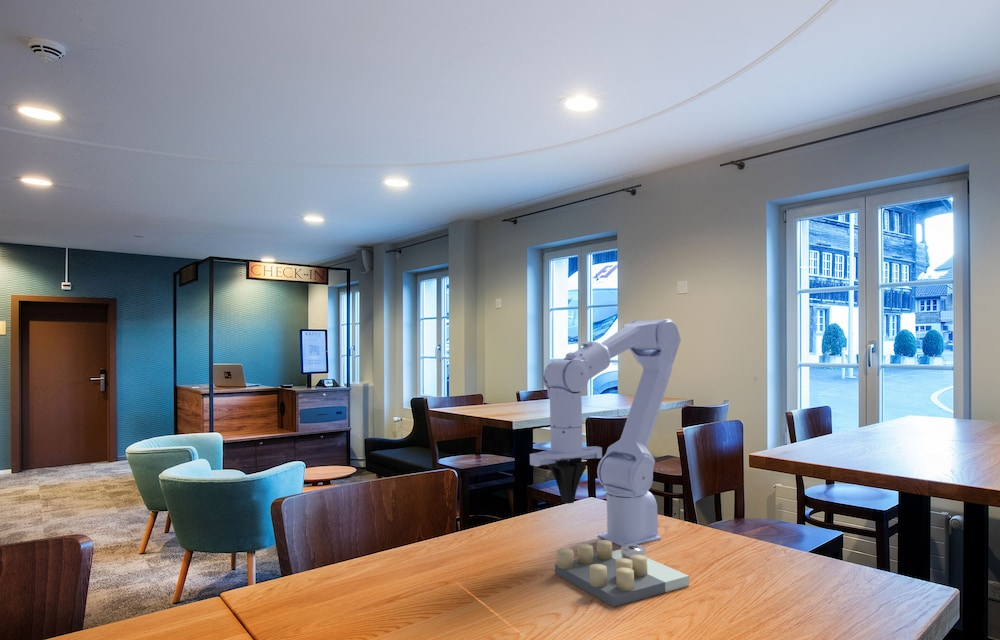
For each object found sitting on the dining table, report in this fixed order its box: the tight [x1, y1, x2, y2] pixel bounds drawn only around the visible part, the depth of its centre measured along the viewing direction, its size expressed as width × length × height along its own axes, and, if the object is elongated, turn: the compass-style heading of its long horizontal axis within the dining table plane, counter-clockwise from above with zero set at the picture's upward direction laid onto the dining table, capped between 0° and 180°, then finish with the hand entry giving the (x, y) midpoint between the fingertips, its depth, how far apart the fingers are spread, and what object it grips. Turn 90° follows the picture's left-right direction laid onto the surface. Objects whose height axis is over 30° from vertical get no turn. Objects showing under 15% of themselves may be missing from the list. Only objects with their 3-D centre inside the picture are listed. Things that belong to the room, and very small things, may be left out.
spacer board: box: [554, 539, 690, 608], centre depth 98 cm, size 15×15×4 cm
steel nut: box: [620, 544, 647, 559], centre depth 102 cm, size 4×4×2 cm
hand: (567, 502), depth 110 cm, fingers closed
